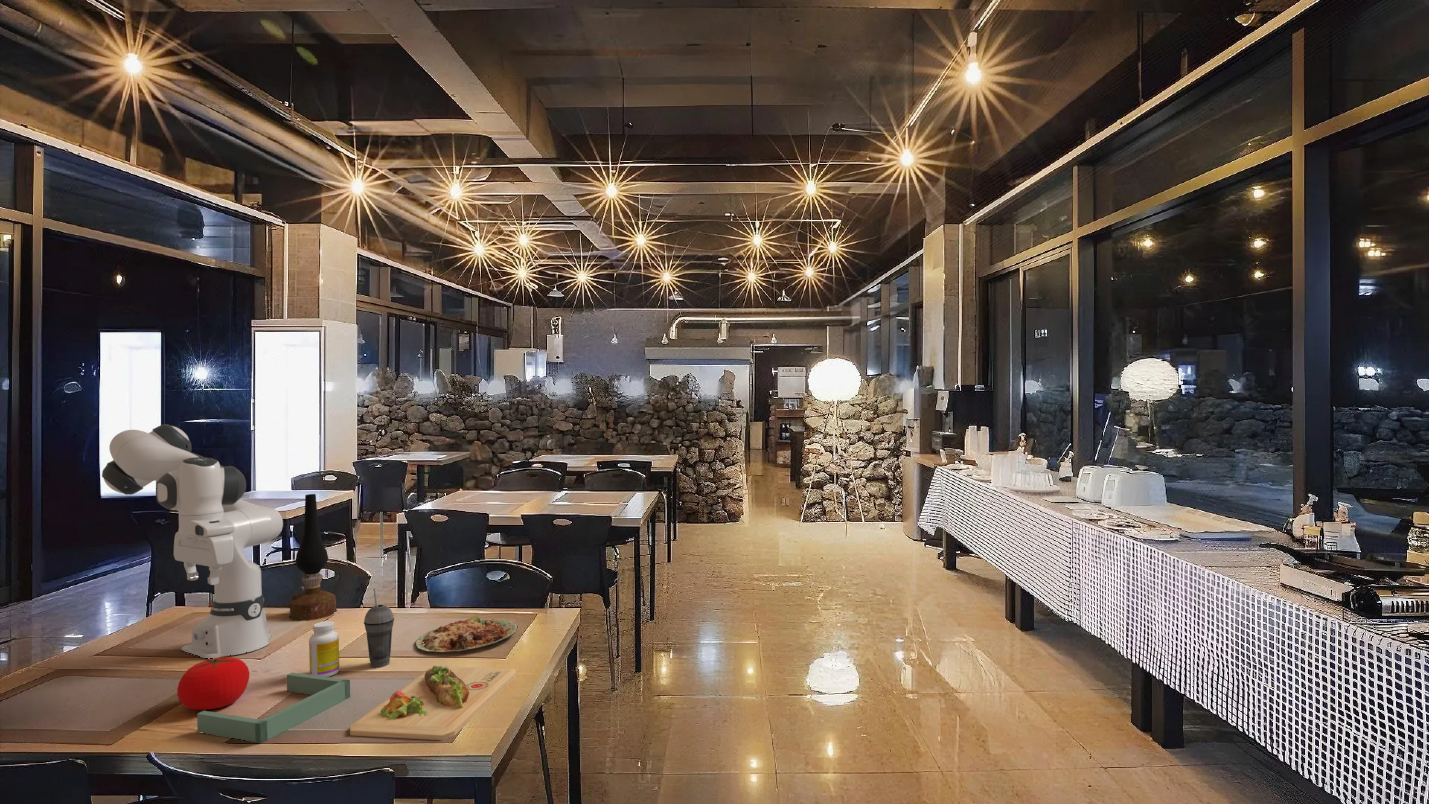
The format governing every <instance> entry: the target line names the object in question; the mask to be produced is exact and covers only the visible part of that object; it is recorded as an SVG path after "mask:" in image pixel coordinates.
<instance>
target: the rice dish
mask: <svg viewBox="0 0 1429 804" xmlns="http://www.w3.org/2000/svg"><path fill="white" fill-rule="evenodd" d="M518 626H519V625H517V624H516V623H515V622H513V621H511V620H509V619H498V618H496V619H494V618H491V619H489V618H488V619H480V618H479V617H478V616H476V615H475V616H472V617H470V618H467V619H466V620H461V619H459V620H457V621H455V622H450V623H449V624H446V625H444V626H442V625H441V626H439V627H438V628H437V627H436V628H434V629H432V630H430V631H428V632H426V633H423V634H422V635H421V636H419V637H418V638H417V640H416V641H415V643H414V645H415V647H416V648H417V650H421V651H426V652H435V653H436V652H440V653H445V652H446V653H458V652H465V651H467V650H470V649H471V650H472V649H473V650H474V649H478V648H482V647H487V646H491V645H493V644H495V643H498V642H500V641H503V640H504V639H507V638H509V637H510V636H512V635H513V634H515V632H517V630H518ZM423 642H424V643H423ZM423 644H425V645H424V646H425V647H426V648H425V647H424V646H423ZM449 650H451V651H449Z"/></svg>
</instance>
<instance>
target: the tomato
mask: <svg viewBox="0 0 1429 804" xmlns="http://www.w3.org/2000/svg"><path fill="white" fill-rule="evenodd" d="M250 674H251V673H250V669H249V666H248V665H247V664H246V663H245V662H244V661H243V660H242V659H241V658H237V657H230V656H222V657H218V658H213V659H205V660H203V661H201V662H198V663H195V664H194V665H192V666H191V667H190V668H188V669H187V670H186V671H185V673H184V674H183V675H182V676H181V678H180V680H179V682H178V684H177V689H176V691H177V692H176V693H177V698H178V701H179V703H180V704H182V705H183V706H184V707H186V708H188V709H189V710H193V711H194V710H196V711H207V710H215V709H219V708H220V709H221V708H225V707H226V706H230V705H231V704H234V702H236V701H238V700H239V699H240V698H241V696H242V695H243V694H244V693H245V691H246V688H247V686H248V683H249V680H250Z"/></svg>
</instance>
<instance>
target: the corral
mask: <svg viewBox="0 0 1429 804" xmlns="http://www.w3.org/2000/svg"><path fill="white" fill-rule="evenodd" d="M286 692H289V693H296V694H302V693H304V694H303V695H310V696H307V697H305V698H303V699H302V700H299V701H297V702H295V703H293V704H290V705H289V706H287V707H284V708H283V709H280V710H279V711H277V712H275V713H273V714H271V715H268V716H266V717H263V719H259V718H252V717H248V716H247V717H246V716H239V715H234V714H228V713H222V712H221V713H220V712H215V711H207V710H201V711H200V712H198V713H197V714H196V716H197V717H196V718H197V719H196V721H197V722H196V723H197V725H196V726H197V730H196V731H197V733H198V732H203V733H206V734H205V735H208V734H213V735H212V736H214V735H217V736H216V737H220V736H221V737H220V738H226V737H231V738H236V739H235V740H237V739H241V740H240V741H243V740H246V741H245V742H249V741H250V742H249V743H257V744H263V743H265V742H266V740H267V741H269V740H271V739H272V738H274V737H276V736H278V735H280V734H282V733H284V732H285V731H288V730H290V729H292V728H293V727H296V726H297V725H299V724H301V723H302V722H305V721H306V720H307V721H308V719H310V718H313V717H315V716H317V715H318V714H321V713H323V712H324V711H326V710H328V709H330V708H332V707H333V706H336V705H337V704H340V703H341V702H343V701H345V700H347V699H349V698H351V679H345V678H338V677H331V676H329V677H323V676H315V675H310V674H306V673H299V672H290V673H288V674H286ZM231 738H230V739H231Z"/></svg>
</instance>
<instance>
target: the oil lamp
mask: <svg viewBox="0 0 1429 804" xmlns="http://www.w3.org/2000/svg"><path fill="white" fill-rule="evenodd" d="M304 498H305V499H304V521H303V523H304V525H303V532H302V533H303V535H302V538H301V540H300V544H299V548H298V549H297V552H296V556H295V560H294V561H295V566H296V567H297V568H298V570H300V571H301V572H303V573H304V575H303V576H302V577H301V580H302V583H303V584H304V586H303V585H302V586H300V587H299V592H302V593H294V594H292V595H291V597H292V598H291V600H290V601H289V616H288V619H289V618H290V619H289V620H291V619H292V620H291V621H295V620H306V621H313V620H318V619H319V618H320V619H323V618H324V619H325V618H327V617H329V616H332V614H333V615H334V614H335V613H334V612H338V609H337V607H336V606H337V604H336V603H337V601H336V599H337V598H336V595H335V594H333V593H331V592H330V591H329V592H328V591H327V590H321V587H322V586H321V582H322V579H323V577H324V575H323V574H322V573H320V572H321V571H322V570H323V569H324V568H325V567H326V565H327V564H328V562H329V555H328V551H327V548H326V547H325V545H324V543H323V540H322V539H323V538H322V536H321V534H320V528H319V520H318V519H319V517H318V506H317V494H316V493H310V494H308V493H307V494H305V497H304ZM303 591H304V592H303ZM320 619H319V620H320Z"/></svg>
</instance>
